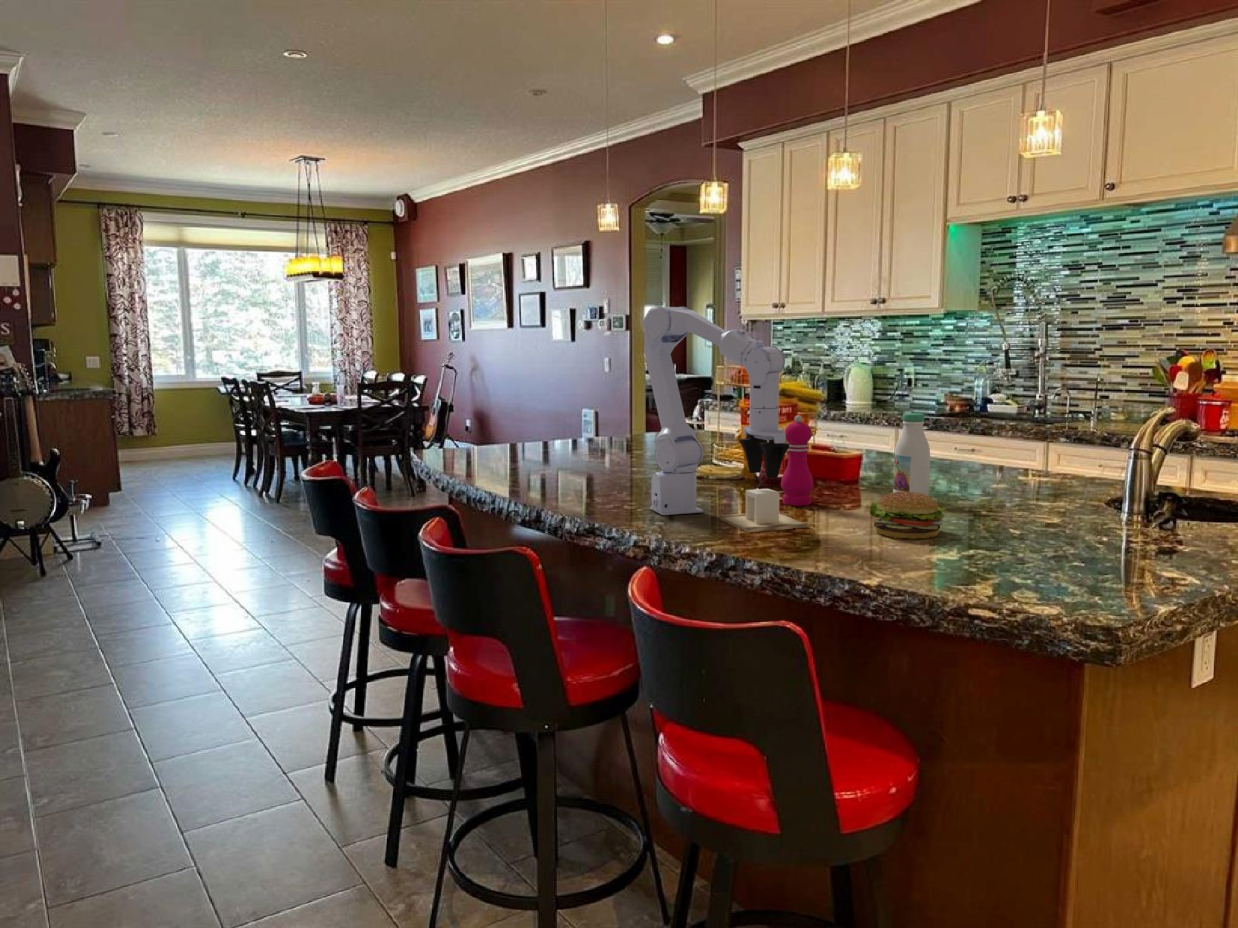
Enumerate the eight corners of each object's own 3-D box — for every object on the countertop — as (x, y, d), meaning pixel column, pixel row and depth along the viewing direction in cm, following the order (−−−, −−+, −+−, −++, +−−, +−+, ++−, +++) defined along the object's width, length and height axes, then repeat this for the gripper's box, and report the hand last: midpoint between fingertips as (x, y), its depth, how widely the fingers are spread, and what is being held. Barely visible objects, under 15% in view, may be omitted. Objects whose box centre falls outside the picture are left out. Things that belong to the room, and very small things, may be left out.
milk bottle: (923, 498, 204) (927, 412, 202) (932, 504, 197) (935, 415, 194) (889, 498, 205) (892, 412, 202) (896, 504, 198) (899, 415, 195)
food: (951, 529, 172) (953, 489, 171) (936, 544, 160) (938, 501, 159) (880, 522, 179) (881, 484, 178) (861, 536, 167) (862, 494, 166)
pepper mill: (813, 506, 196) (815, 416, 193) (780, 506, 197) (781, 416, 195) (813, 500, 203) (814, 413, 200) (781, 500, 204) (782, 413, 202)
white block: (778, 522, 177) (779, 492, 177) (756, 523, 176) (756, 494, 175) (767, 517, 182) (767, 488, 181) (745, 519, 181) (745, 490, 180)
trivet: (747, 532, 171) (747, 527, 171) (720, 519, 183) (720, 515, 183) (807, 527, 175) (807, 523, 175) (776, 515, 187) (776, 511, 187)
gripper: (800, 409, 170) (798, 479, 172) (765, 404, 184) (764, 469, 186) (766, 411, 168) (766, 481, 170) (734, 405, 182) (734, 471, 184)
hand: (763, 475), depth 178 cm, fingers open, 7 cm apart
